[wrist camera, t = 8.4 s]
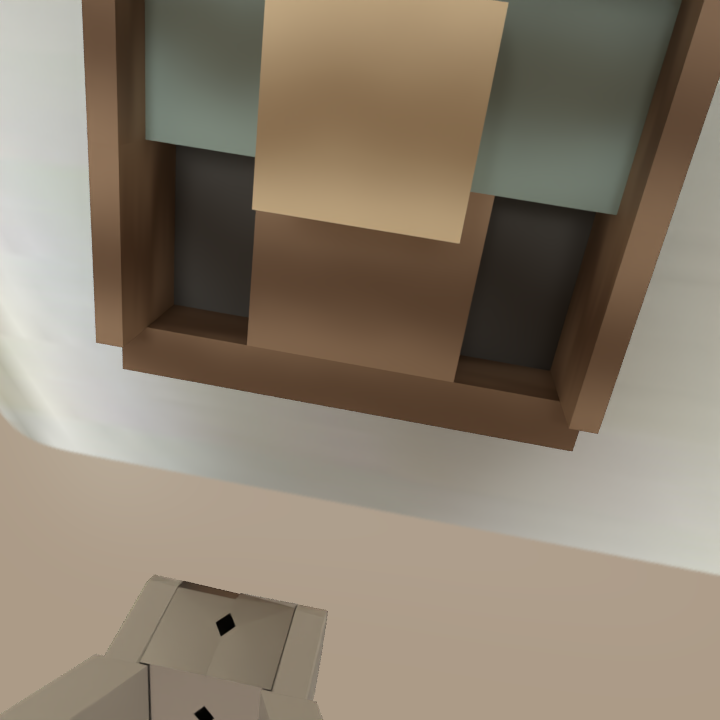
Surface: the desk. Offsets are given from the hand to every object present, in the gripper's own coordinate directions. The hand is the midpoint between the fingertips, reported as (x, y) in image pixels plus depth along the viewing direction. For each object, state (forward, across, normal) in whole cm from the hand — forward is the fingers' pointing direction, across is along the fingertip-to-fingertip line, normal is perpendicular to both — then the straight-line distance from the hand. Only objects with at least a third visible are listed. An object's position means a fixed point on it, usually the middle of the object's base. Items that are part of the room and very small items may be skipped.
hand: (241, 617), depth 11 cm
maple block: (+15, 0, -7) cm, 16 cm away
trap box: (+18, 0, -4) cm, 18 cm away
